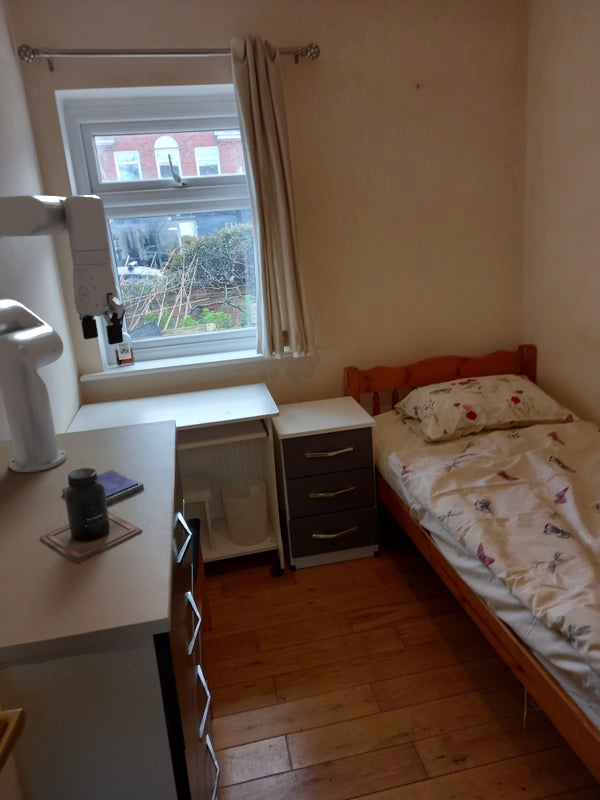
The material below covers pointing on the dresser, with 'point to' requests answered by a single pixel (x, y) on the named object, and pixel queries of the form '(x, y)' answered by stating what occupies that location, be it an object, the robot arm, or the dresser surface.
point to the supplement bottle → (86, 506)
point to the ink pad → (116, 486)
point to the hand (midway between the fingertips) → (103, 340)
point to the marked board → (86, 550)
